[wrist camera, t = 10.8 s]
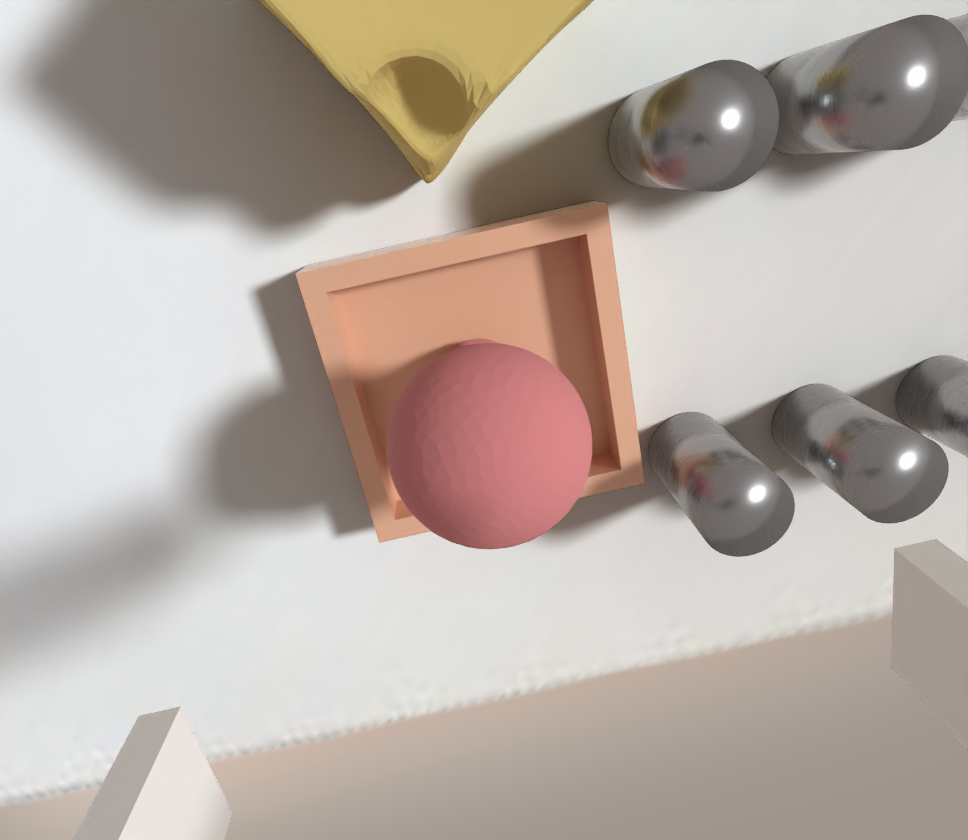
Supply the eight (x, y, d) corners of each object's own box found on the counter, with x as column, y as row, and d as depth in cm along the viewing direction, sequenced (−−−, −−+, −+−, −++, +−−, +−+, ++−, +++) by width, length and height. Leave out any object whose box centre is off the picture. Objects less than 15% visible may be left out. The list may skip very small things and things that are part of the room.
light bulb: (571, 425, 32) (629, 564, 21) (429, 458, 32) (411, 612, 21) (541, 281, 29) (589, 352, 18) (387, 320, 30) (342, 411, 19)
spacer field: (652, 490, 34) (704, 565, 28) (601, 97, 28) (654, 75, 21) (970, 420, 34) (1096, 478, 28) (998, 7, 27) (1174, -44, 21)
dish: (383, 515, 34) (379, 542, 31) (306, 265, 29) (295, 274, 27) (629, 461, 34) (644, 483, 31) (592, 200, 29) (607, 203, 27)
